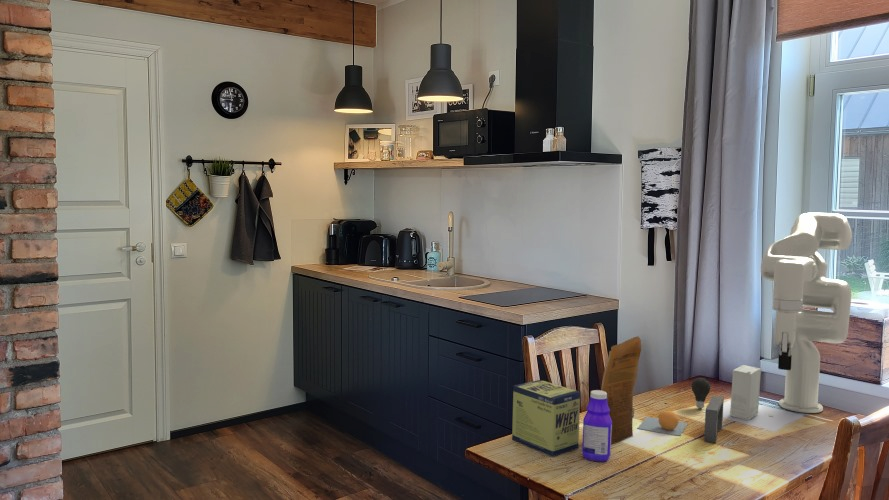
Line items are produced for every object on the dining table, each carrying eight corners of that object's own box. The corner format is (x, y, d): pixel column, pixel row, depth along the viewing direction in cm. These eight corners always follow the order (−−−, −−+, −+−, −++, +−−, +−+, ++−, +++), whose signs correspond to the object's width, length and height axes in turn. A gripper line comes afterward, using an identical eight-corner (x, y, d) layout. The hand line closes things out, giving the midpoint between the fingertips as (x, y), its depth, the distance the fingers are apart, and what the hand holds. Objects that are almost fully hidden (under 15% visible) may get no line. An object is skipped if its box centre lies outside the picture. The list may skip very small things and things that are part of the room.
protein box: (553, 457, 181) (554, 398, 179) (511, 440, 193) (512, 384, 191) (580, 448, 187) (581, 391, 186) (537, 432, 199) (538, 378, 198)
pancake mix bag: (646, 434, 199) (650, 336, 196) (607, 450, 186) (611, 346, 183) (625, 428, 204) (629, 332, 201) (586, 443, 191) (589, 342, 188)
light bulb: (710, 412, 219) (712, 380, 218) (691, 411, 220) (693, 379, 219) (707, 406, 225) (709, 376, 224) (689, 405, 226) (690, 375, 225)
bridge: (704, 441, 193) (705, 409, 192) (711, 426, 206) (712, 395, 205) (715, 443, 192) (717, 410, 191) (722, 428, 205) (723, 397, 204)
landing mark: (646, 417, 214) (646, 416, 214) (687, 423, 208) (687, 423, 208) (637, 428, 203) (637, 428, 203) (680, 436, 197) (680, 435, 197)
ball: (673, 405, 205) (682, 423, 204) (655, 412, 206) (664, 430, 206) (672, 409, 200) (681, 427, 199) (654, 417, 201) (663, 435, 200)
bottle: (611, 456, 182) (614, 390, 180) (609, 464, 176) (611, 396, 175) (583, 452, 184) (585, 387, 183) (580, 460, 179) (582, 393, 177)
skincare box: (739, 410, 221) (741, 364, 220) (759, 414, 217) (761, 367, 216) (729, 416, 215) (731, 369, 214) (749, 421, 211) (751, 372, 210)
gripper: (774, 298, 202) (772, 360, 205) (770, 308, 189) (767, 374, 192) (803, 300, 199) (800, 363, 201) (801, 311, 186) (798, 378, 188)
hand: (784, 368), depth 196 cm, fingers closed
